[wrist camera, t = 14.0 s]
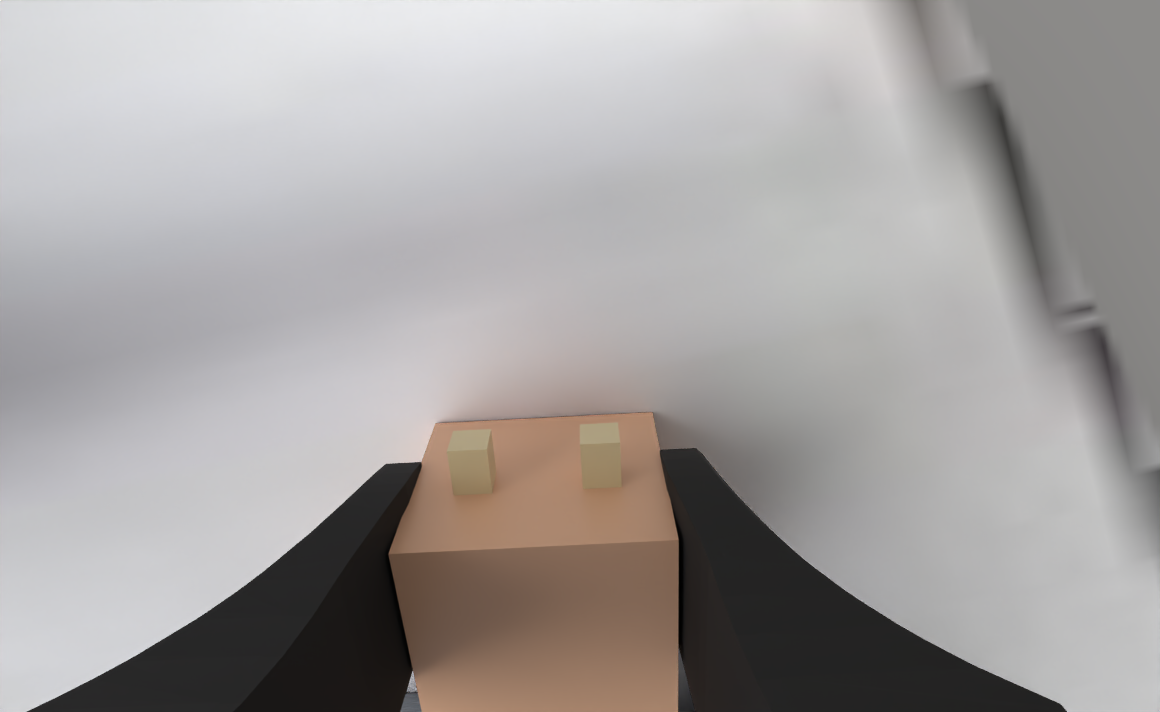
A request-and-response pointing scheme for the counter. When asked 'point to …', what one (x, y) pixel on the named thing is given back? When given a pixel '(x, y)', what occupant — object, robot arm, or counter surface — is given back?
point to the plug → (541, 568)
